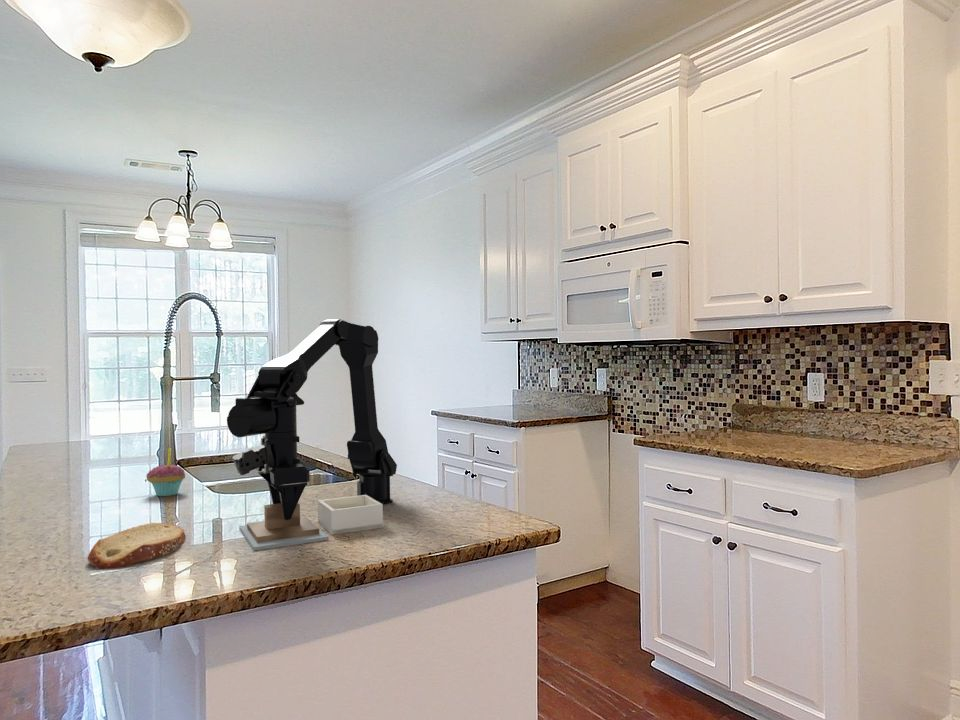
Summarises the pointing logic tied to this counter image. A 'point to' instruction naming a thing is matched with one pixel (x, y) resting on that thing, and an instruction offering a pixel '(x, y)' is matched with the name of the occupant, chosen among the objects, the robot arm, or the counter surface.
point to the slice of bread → (136, 545)
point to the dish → (350, 514)
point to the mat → (281, 540)
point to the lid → (281, 525)
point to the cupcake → (166, 478)
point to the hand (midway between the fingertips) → (282, 514)
